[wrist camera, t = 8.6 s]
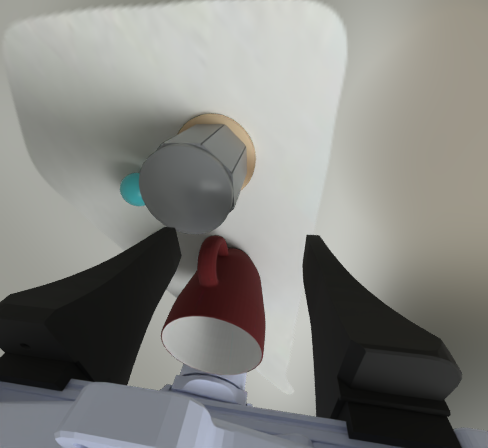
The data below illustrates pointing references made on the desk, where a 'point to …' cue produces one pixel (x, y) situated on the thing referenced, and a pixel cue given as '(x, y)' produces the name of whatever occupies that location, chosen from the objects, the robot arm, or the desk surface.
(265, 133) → the desk surface
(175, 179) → the faceted grey cylinder
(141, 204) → the marble
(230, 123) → the tan round coaster
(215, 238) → the mug
